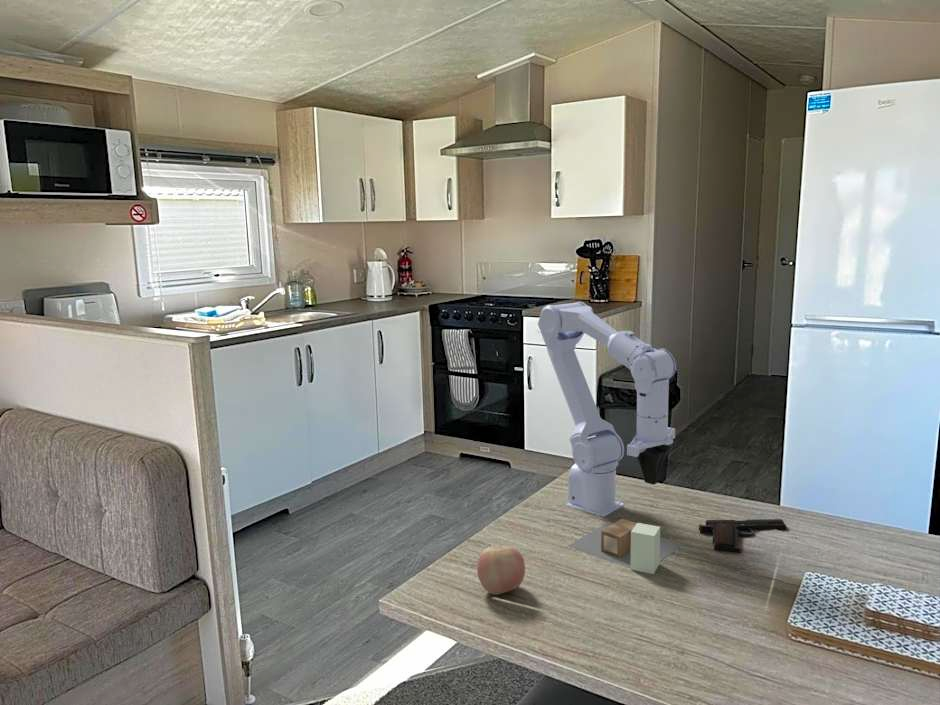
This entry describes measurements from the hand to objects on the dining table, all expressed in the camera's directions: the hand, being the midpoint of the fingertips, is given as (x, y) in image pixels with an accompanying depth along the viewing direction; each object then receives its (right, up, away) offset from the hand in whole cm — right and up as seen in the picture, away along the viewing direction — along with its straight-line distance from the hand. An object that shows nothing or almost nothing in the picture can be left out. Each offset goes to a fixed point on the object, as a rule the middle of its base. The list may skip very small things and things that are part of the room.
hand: (651, 482), depth 138 cm
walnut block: (-5, -8, -4) cm, 10 cm away
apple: (-30, -15, -19) cm, 38 cm away
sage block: (-4, -12, -13) cm, 18 cm away
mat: (-6, -11, -5) cm, 13 cm away
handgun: (+18, -11, -3) cm, 21 cm away
